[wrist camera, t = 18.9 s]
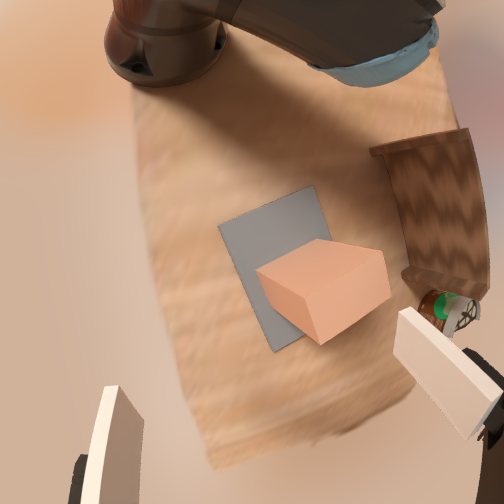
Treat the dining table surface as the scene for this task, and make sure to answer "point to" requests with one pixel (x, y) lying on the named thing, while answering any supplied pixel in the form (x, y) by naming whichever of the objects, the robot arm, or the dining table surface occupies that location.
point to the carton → (325, 286)
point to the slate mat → (273, 251)
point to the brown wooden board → (441, 210)
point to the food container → (448, 311)
